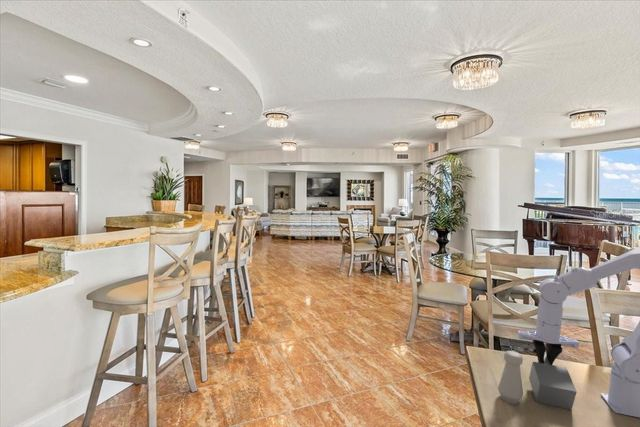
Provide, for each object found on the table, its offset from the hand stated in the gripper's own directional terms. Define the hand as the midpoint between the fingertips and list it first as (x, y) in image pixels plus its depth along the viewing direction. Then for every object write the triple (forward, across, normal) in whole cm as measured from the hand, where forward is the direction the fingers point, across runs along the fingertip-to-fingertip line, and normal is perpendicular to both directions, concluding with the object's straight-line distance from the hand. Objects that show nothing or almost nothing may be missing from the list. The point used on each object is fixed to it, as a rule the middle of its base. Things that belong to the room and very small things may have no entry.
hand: (544, 366), depth 95 cm
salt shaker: (+6, +10, +11) cm, 16 cm away
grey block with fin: (+4, 0, +3) cm, 5 cm away
